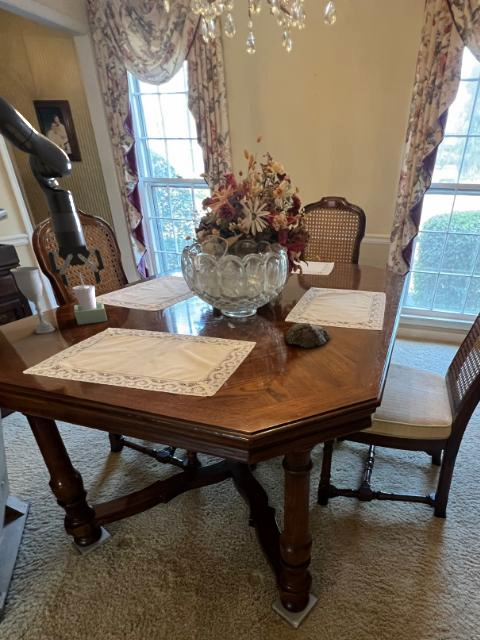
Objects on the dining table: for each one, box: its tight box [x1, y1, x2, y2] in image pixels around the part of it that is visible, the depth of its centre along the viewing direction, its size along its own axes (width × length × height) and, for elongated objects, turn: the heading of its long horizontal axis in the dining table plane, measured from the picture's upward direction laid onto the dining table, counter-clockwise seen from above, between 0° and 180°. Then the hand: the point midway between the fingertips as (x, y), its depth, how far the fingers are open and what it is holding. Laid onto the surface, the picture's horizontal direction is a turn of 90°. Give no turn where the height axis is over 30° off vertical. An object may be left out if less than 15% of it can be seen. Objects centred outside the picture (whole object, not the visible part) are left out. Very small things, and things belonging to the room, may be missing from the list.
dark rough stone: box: [285, 322, 330, 349], centre depth 109 cm, size 13×12×5 cm
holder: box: [73, 301, 108, 326], centre depth 124 cm, size 9×9×4 cm
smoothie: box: [72, 272, 97, 311], centre depth 121 cm, size 6×6×14 cm
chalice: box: [9, 266, 56, 334], centre depth 111 cm, size 7×7×18 cm
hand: (83, 285), depth 120 cm, fingers open, 8 cm apart
